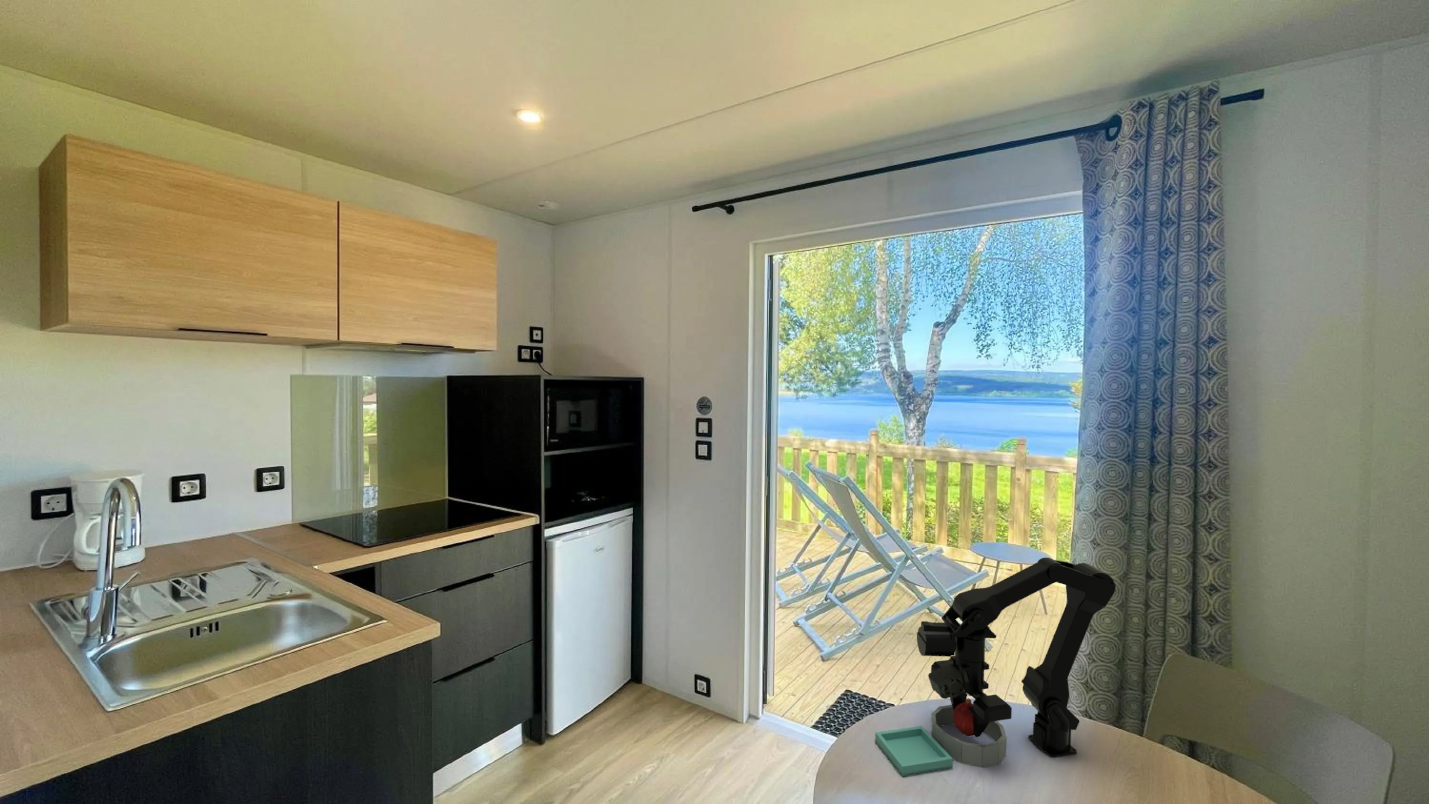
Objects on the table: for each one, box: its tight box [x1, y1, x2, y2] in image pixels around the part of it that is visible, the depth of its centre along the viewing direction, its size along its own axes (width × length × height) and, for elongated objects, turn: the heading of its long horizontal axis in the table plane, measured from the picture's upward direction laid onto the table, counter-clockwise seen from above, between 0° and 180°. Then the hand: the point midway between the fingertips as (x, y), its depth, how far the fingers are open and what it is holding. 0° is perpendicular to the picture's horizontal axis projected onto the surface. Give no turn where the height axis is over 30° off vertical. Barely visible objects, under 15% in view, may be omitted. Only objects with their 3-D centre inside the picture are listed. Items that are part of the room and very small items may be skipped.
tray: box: [874, 725, 954, 778], centre depth 116 cm, size 11×11×2 cm
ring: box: [930, 704, 1008, 768], centre depth 119 cm, size 14×14×4 cm
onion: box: [953, 697, 975, 737], centre depth 119 cm, size 6×6×8 cm
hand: (967, 727), depth 119 cm, fingers closed on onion, 6 cm apart
